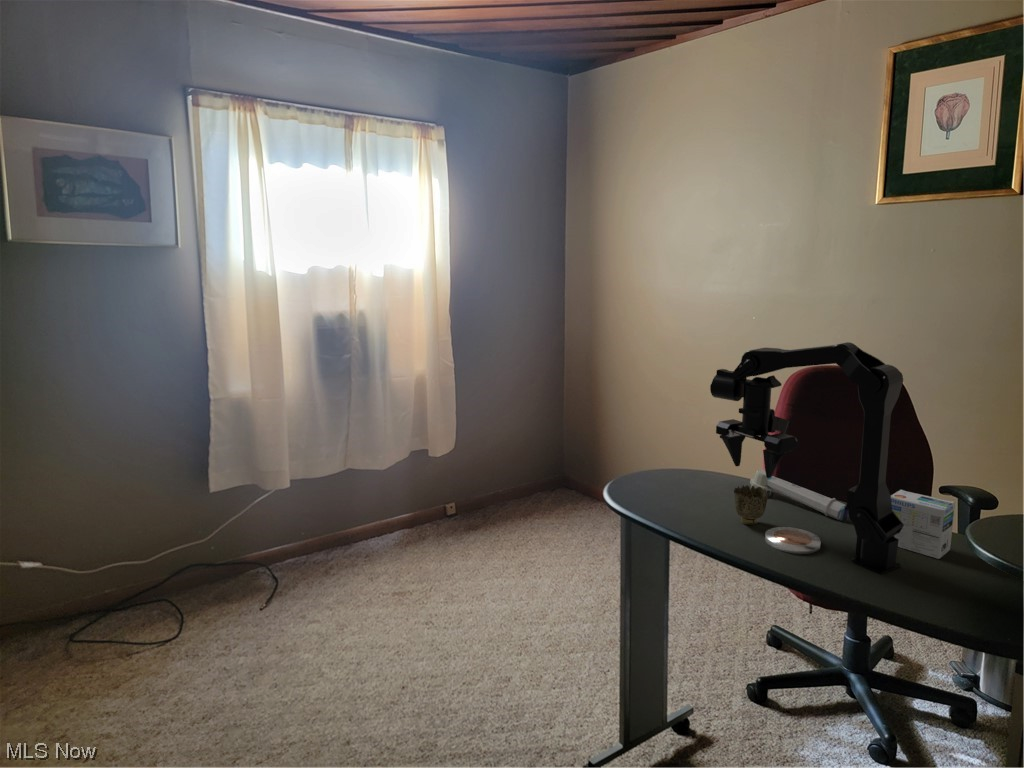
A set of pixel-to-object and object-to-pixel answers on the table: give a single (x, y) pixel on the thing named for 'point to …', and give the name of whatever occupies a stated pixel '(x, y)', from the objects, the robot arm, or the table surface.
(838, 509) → the white long bar
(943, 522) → the light bulb box
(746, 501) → the cup
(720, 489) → the table surface
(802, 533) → the rosette plate
